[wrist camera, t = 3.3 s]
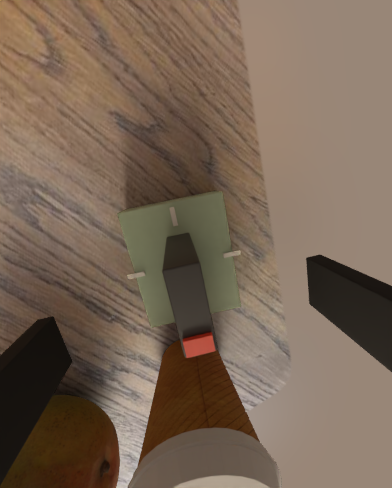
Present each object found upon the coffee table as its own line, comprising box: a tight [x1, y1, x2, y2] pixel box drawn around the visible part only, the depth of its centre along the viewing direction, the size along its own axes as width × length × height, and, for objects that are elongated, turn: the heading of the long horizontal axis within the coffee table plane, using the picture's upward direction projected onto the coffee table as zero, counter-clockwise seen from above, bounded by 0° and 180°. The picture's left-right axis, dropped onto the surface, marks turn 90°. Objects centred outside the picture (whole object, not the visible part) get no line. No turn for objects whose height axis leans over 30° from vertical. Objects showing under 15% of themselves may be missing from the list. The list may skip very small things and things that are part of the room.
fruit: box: [0, 395, 120, 488], centre depth 19 cm, size 12×12×10 cm
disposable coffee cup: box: [128, 340, 282, 488], centre depth 18 cm, size 10×10×12 cm
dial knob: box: [162, 233, 218, 358], centre depth 14 cm, size 5×2×7 cm, turn 11°
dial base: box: [117, 191, 241, 328], centre depth 19 cm, size 10×9×3 cm
